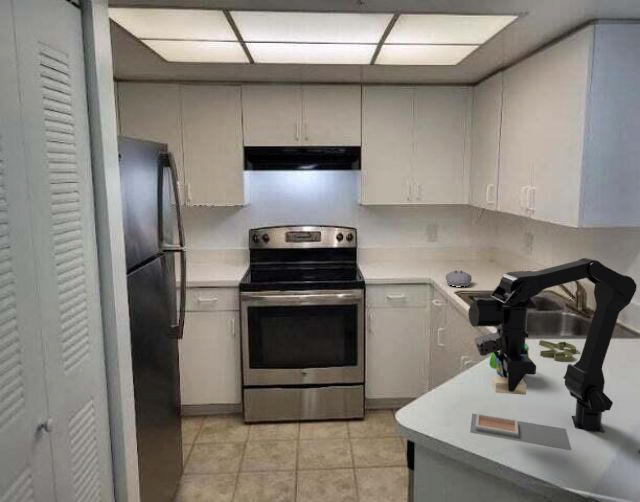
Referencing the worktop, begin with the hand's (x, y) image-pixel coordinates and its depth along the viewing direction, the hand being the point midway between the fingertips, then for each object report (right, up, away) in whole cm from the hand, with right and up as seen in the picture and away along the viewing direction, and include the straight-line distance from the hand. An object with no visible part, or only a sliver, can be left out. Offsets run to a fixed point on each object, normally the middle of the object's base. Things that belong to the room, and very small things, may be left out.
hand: (508, 387), depth 114 cm
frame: (-2, -11, +3) cm, 11 cm away
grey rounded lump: (+37, +13, +167) cm, 172 cm away
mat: (+3, -11, +1) cm, 12 cm away
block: (0, -1, 0) cm, 1 cm away
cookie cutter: (+40, -4, +55) cm, 68 cm away
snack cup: (+14, -6, +36) cm, 39 cm away
